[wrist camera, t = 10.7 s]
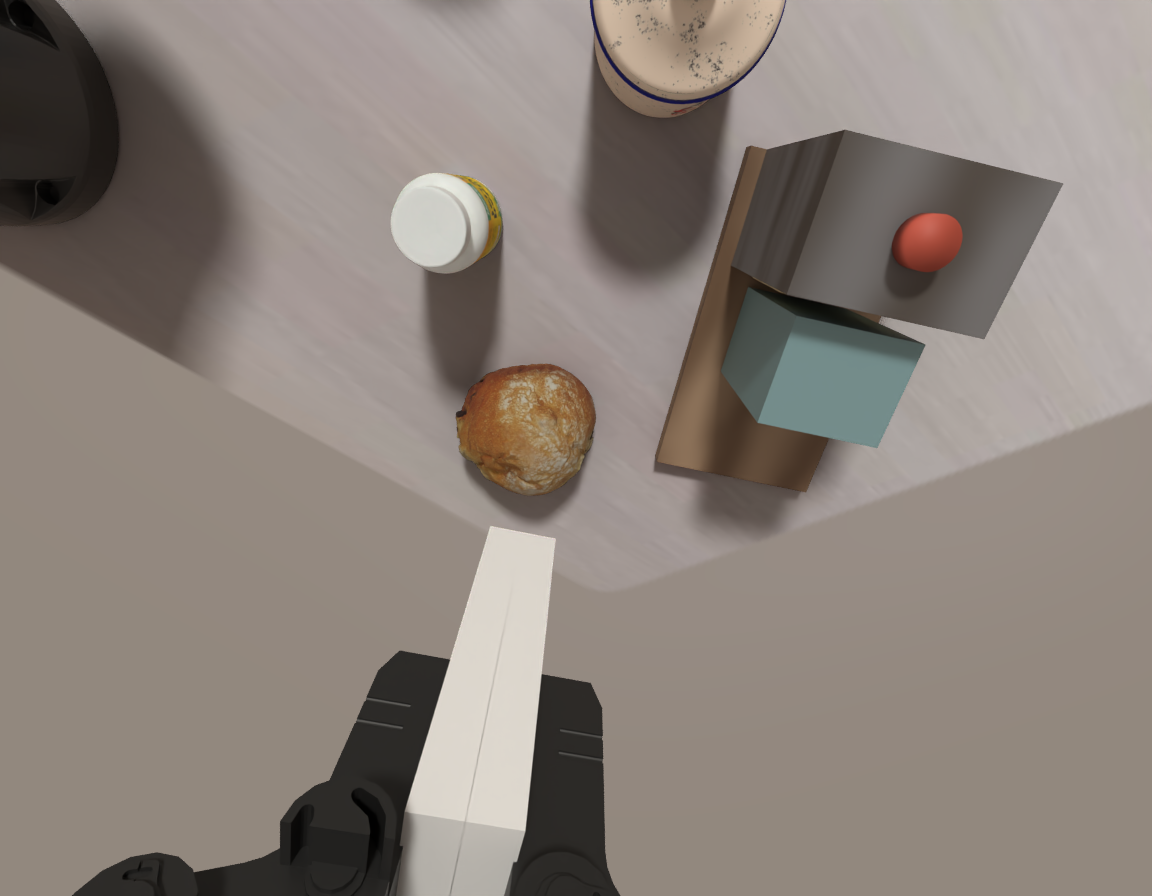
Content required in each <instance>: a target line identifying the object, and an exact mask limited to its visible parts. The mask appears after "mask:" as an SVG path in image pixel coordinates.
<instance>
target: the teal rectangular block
mask: <svg viewBox="0 0 1152 896" xmlns="http://www.w3.org/2000/svg"><path fill="white" fill-rule="evenodd" d="M924 347H925V344H923V343H920V342H918V341H916V340H914V339H912V338H910V337H907V336H905V335H903V334H901V333H899V332H896V331H894V330H892V329H890V328H888V327H885V326H883V325H881V324H879V323H877V322H874V321H872V320H870V319H868V318H866V317H863V316H861V315H859V314H857V313H855V312H852V311H850V310H848V309H844V308H840V307H835V306H831V305H826V304H822V303H818V302H813V301H809V300H804V299H800V298H795V297H791V296H787V295H782V294H778V293H773V292H769V291H765V290H760V289H756V288H751V287H748V289H747V292H746V295H745V298H744V301H743V304H742V307H741V311H740V314H739V317H738V320H737V323H736V326H735V329H734V332H733V335H732V338H731V341H730V344H729V347H728V350H727V353H726V357H725V360H724V363H723V366H722V369H721V373H722V374H723V375H724V377H725V378H726V380H727V381H728V382H729V384H730V385H731V387H732V388H733V389H734V391H735V392H736V394H737V395H738V396H739V398H740V399H741V401H742V402H743V403H744V405H745V406H746V408H747V409H748V410H749V412H750V413H751V414H752V416H753V417H754V419H755V420H756V421H757V423H761V424H766V425H771V426H775V427H780V428H785V429H790V430H794V431H799V432H804V433H808V434H813V435H818V436H823V437H827V438H832V439H837V440H842V441H846V442H851V443H856V444H861V445H865V446H870V447H875V448H877V447H878V445H879V443H880V441H881V439H882V437H883V435H884V432H885V430H886V428H887V426H888V424H889V422H890V420H891V417H892V415H893V413H894V411H895V409H896V407H897V405H898V403H899V400H900V398H901V396H902V394H903V392H904V390H905V388H906V385H907V383H908V381H909V379H910V377H911V375H912V373H913V370H914V368H915V366H916V364H917V362H918V360H919V358H920V355H921V353H922V351H923V349H924Z"/></svg>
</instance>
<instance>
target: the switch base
mask: <svg viewBox="0 0 1152 896" xmlns="http://www.w3.org/2000/svg"><path fill="white" fill-rule="evenodd" d="M1062 185H1063V183H1059V182H1055V181H1051V180H1047V179H1043V178H1039V177H1035V176H1031V175H1027V174H1023V173H1018V172H1014V171H1010V170H1006V169H1002V168H998V167H994V166H990V165H986V164H982V163H978V162H974V161H970V160H966V159H962V158H957V157H953V156H949V155H945V154H941V153H937V152H933V151H929V150H925V149H921V148H917V147H913V146H909V145H905V144H901V143H896V142H892V141H888V140H884V139H880V138H876V137H872V136H868V135H864V134H860V133H856V132H852V131H848V130H843V131H839V132H835V133H831V134H827V135H823V136H819V137H815V138H811V139H807V140H803V141H799V142H795V143H791V144H787V145H783V146H779V147H775V148H771V149H763V148H759V147H754V146H749V147H746V151H745V154H744V157H743V161H742V164H741V168H740V171H739V174H738V178H737V181H736V184H735V188H734V191H733V195H732V198H731V201H730V205H729V208H728V211H727V215H726V218H725V222H724V225H723V228H722V232H721V235H720V238H719V242H718V245H717V249H716V252H715V255H714V259H713V262H712V265H711V269H710V272H709V276H708V279H707V282H706V286H705V289H704V293H703V296H702V299H701V303H700V306H699V309H698V313H697V316H696V320H695V323H694V326H693V330H692V333H691V336H690V340H689V343H688V347H687V350H686V353H685V357H684V360H683V363H682V367H681V370H680V374H679V377H678V380H677V384H676V387H675V390H674V394H673V397H672V401H671V404H670V407H669V411H668V414H667V417H666V421H665V424H664V428H663V431H662V434H661V438H660V441H659V445H658V448H657V451H656V455H655V456H656V460H657V462H660V463H665V464H670V465H675V466H680V467H685V468H690V469H694V470H699V471H704V472H709V473H714V474H719V475H724V476H729V477H734V478H738V479H743V480H748V481H753V482H758V483H763V484H768V485H773V486H777V487H782V488H787V489H792V490H797V491H802V492H806V491H807V489H808V486H809V484H810V482H811V479H812V477H813V475H814V472H815V470H816V468H817V465H818V463H819V461H820V458H821V456H822V453H823V451H824V449H825V446H826V444H827V442H828V439H829V438H827V437H823V436H818V435H813V434H808V433H804V432H799V431H794V430H790V429H785V428H780V427H775V426H771V425H766V424H761V423H757V421H756V420H755V419H754V417H753V416H752V414H751V413H750V412H749V410H748V409H747V408H746V406H745V405H744V403H743V402H742V401H741V399H740V398H739V396H738V395H737V394H736V392H735V391H734V389H733V388H732V387H731V385H730V384H729V382H728V381H727V380H726V378H725V377H724V375H723V374H722V373H721V369H722V366H723V363H724V360H725V357H726V353H727V350H728V347H729V344H730V341H731V338H732V335H733V332H734V329H735V326H736V323H737V320H738V317H739V314H740V311H741V307H742V304H743V301H744V298H745V295H746V292H747V289H748V287H751V288H756V289H760V290H765V291H769V292H773V293H778V294H782V295H787V296H791V297H795V298H800V299H804V300H809V301H813V302H818V303H822V304H826V305H831V306H835V307H840V308H844V309H848V310H850V311H852V312H855V313H857V314H859V315H861V316H863V317H866V318H868V319H870V320H872V321H874V322H877V323H878V322H879V320H880V318H881V316H884V317H888V318H893V319H897V320H901V321H906V322H910V323H915V324H919V325H924V326H928V327H932V328H937V329H941V330H946V331H950V332H955V333H959V334H963V335H968V336H972V337H977V338H981V339H985V337H986V335H987V333H988V331H989V329H990V327H991V325H992V323H993V321H994V319H995V317H996V315H997V313H998V311H999V309H1000V307H1001V305H1002V303H1003V301H1004V299H1005V297H1006V295H1007V293H1008V291H1009V289H1010V287H1011V285H1012V284H1013V282H1014V280H1015V278H1016V276H1017V274H1018V272H1019V270H1020V268H1021V266H1022V264H1023V262H1024V260H1025V258H1026V256H1027V254H1028V252H1029V250H1030V248H1031V246H1032V244H1033V242H1034V240H1035V238H1036V236H1037V234H1038V232H1039V230H1040V228H1041V226H1042V224H1043V222H1044V221H1045V219H1046V217H1047V215H1048V213H1049V211H1050V209H1051V207H1052V205H1053V203H1054V201H1055V199H1056V197H1057V195H1058V193H1059V191H1060V189H1061V187H1062Z"/></svg>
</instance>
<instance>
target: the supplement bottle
mask: <svg viewBox="0 0 1152 896" xmlns="http://www.w3.org/2000/svg"><path fill="white" fill-rule="evenodd" d="M502 225H503V221H502V212H501V208H500V205H499V202H498V200H497V198H496V197H495V195H494V194H493V193H492V191H491V190H490V189H489V188H488V187H487V186H485V185H484V184H483V183H481V182H480V181H478V180H476V179H473V178H470V177H466V176H461V175H452V174H444V173H430V174H426V175H422V176H420V177H418V178H416V179H414V180H412V181H411V182H410V183H409V184H408V185H406V186H405V188H404V189H403V190H402V192H401V193H400V195H399V197H398V199H397V201H396V204H395V206H394V208H393V211H392V214H391V231H392V235H393V238H394V241H395V243H396V245H397V247H398V248H399V250H400V251H401V252H402V253H403V254H404V255H405V256H406V257H407V258H408V259H409V260H411V261H412V262H414V263H416V264H417V265H419V266H420V267H422V268H424V269H426V270H429V271H432V272H435V273H443V274H448V273H455V272H459V271H461V270H464V269H466V268H467V267H469V266H471V265H472V264H474V263H475V262H477V261H478V260H480V259H481V258H483V257H485V256H486V255H487V254H489V253H490V252H491V251H492V250H493V249H494V247H495V246H496V244H497V243H498V241H499V239H500V236H501V233H502Z"/></svg>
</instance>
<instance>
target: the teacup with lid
mask: <svg viewBox="0 0 1152 896" xmlns="http://www.w3.org/2000/svg"><path fill="white" fill-rule="evenodd" d="M785 3H786V0H590V8H591V16H592V21H593V26H594V39H595V50H596V56H597V61H598V64H599V67H600V70H601V73H602V75H603V77H604V79H605V81H606V83H607V85H608V86H609V88H610V89H611V91H612V92H613V93H614V94H615V96H616V97H617V98H618V99H619V100H620V101H621V102H623V103H624V104H625V105H626V106H628V107H629V108H631V109H632V110H634V111H636V112H638V113H641V114H643V115H647V116H650V117H657V118H669V117H676V116H680V115H683V114H686V113H688V112H691V111H693V110H695V109H696V108H698V107H700V106H701V105H703V104H704V103H705V102H707V101H708V100H709V99H711V98H714V97H716V96H718V95H720V94H722V93H724V92H726V91H727V90H729V89H730V88H732V87H733V86H735V85H736V84H737V83H739V82H740V81H741V80H742V79H743V78H744V77H745V76H746V75H747V74H748V73H750V72H751V71H752V69H753V68H754V67H755V66H756V65H757V63H758V62H759V61H760V59H761V58H762V57H763V55H764V54H765V52H766V51H767V49H768V47H769V46H770V44H771V42H772V40H773V38H774V36H775V34H776V32H777V29H778V27H779V24H780V22H781V18H782V15H783V12H784V8H785Z"/></svg>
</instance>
